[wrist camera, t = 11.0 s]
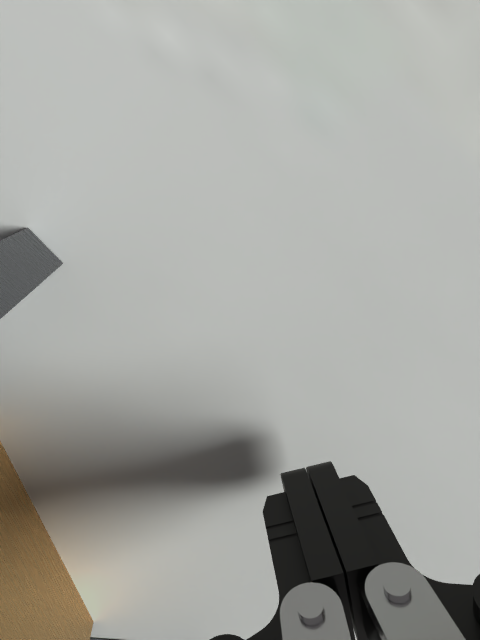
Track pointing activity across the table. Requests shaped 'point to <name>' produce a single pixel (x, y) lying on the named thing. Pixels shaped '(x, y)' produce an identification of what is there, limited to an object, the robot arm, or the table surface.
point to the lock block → (33, 572)
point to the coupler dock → (23, 269)
